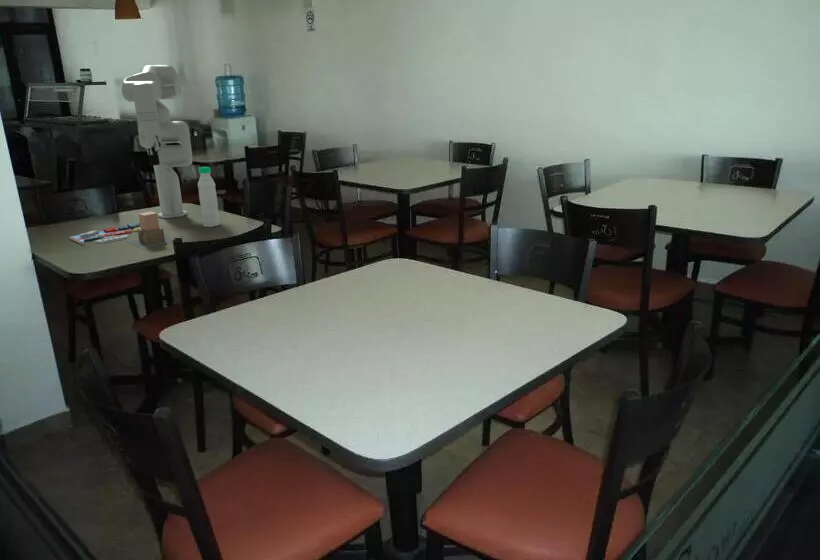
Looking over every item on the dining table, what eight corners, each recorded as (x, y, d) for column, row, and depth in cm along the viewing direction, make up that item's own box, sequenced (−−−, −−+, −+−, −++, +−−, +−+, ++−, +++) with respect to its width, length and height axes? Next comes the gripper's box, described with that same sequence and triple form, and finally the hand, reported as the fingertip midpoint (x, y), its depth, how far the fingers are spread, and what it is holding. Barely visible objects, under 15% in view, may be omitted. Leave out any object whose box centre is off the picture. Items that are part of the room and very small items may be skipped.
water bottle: (217, 227, 261) (209, 168, 253) (200, 227, 261) (192, 168, 253) (222, 223, 268) (215, 165, 260) (206, 223, 268) (198, 166, 260)
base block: (139, 241, 238) (137, 229, 236) (157, 237, 243) (155, 225, 241) (147, 244, 233) (145, 232, 232) (165, 241, 238) (163, 228, 236)
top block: (141, 228, 236) (138, 213, 234) (153, 226, 240) (151, 211, 238) (146, 231, 233) (144, 215, 231) (159, 228, 236) (157, 213, 234)
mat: (127, 244, 238) (126, 241, 238) (162, 237, 248) (161, 234, 247) (142, 251, 229) (142, 248, 229) (178, 243, 238) (177, 240, 238)
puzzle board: (91, 251, 232) (89, 244, 232) (69, 240, 248) (68, 234, 247) (168, 235, 253) (167, 228, 252) (144, 226, 268) (143, 220, 267)
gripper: (129, 116, 237) (137, 163, 244) (146, 119, 227) (153, 168, 234) (148, 114, 242) (155, 161, 249) (165, 117, 232) (172, 166, 239)
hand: (154, 164), depth 241 cm, fingers closed
